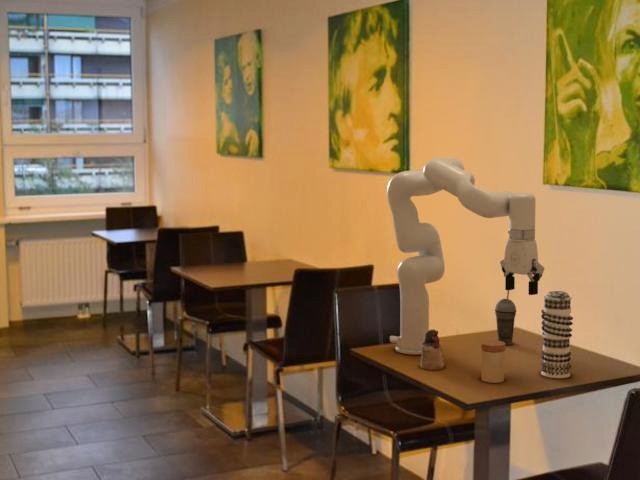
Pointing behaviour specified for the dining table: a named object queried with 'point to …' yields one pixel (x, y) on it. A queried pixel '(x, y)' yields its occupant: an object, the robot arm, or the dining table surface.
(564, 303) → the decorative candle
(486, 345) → the jar lid
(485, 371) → the honey jar
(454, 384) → the dining table surface
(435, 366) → the figurine
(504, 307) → the beverage cup
